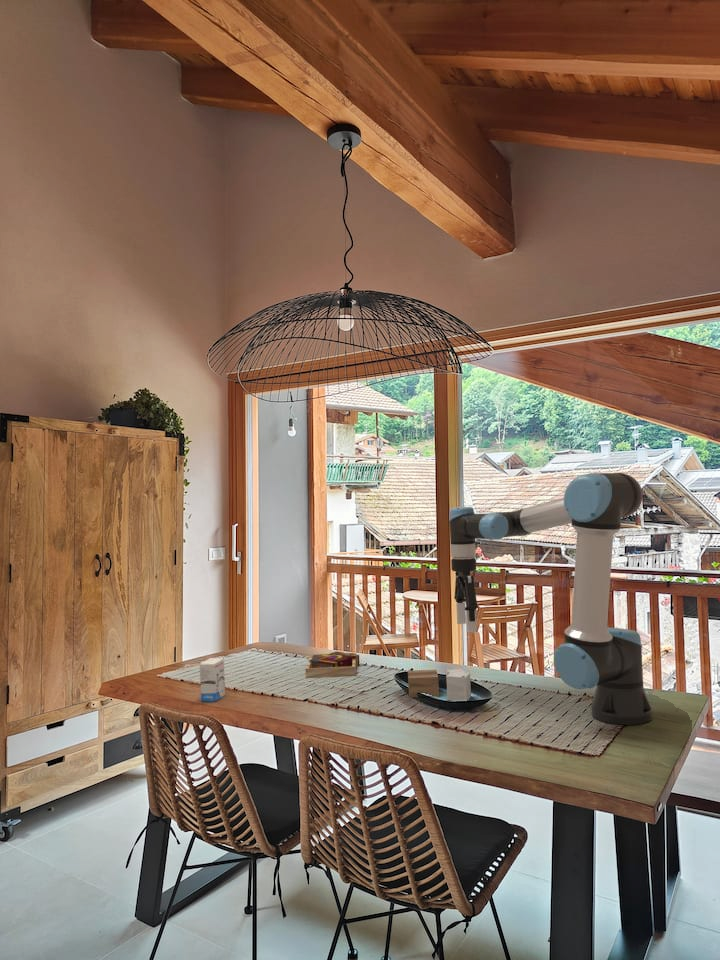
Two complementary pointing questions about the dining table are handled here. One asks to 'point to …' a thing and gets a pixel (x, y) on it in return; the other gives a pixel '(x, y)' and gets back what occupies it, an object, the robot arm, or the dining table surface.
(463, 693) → the skincare box
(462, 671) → the grey cube
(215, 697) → the ink box
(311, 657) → the book frame
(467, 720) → the dining table surface
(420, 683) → the walnut block
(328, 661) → the decorative book
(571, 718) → the dining table surface
